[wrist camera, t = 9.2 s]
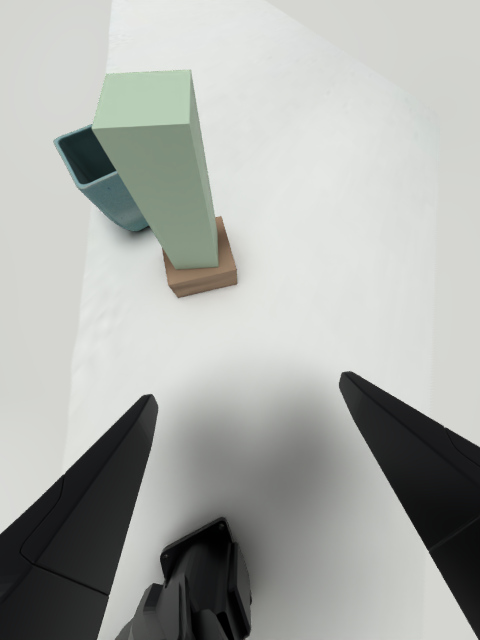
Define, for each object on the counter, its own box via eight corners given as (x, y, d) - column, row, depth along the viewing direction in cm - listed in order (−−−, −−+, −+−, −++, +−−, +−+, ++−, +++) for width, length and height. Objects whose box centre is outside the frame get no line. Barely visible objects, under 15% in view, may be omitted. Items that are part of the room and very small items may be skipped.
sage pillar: (218, 267, 22) (189, 123, 10) (175, 269, 22) (91, 128, 10) (217, 232, 24) (190, 69, 11) (177, 234, 24) (105, 73, 11)
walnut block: (237, 285, 26) (236, 269, 22) (179, 298, 26) (168, 285, 22) (223, 237, 28) (221, 216, 24) (170, 249, 28) (159, 229, 24)
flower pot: (105, 207, 29) (49, 137, 21) (157, 183, 31) (125, 109, 22) (128, 248, 27) (77, 189, 19) (183, 221, 29) (158, 154, 20)
